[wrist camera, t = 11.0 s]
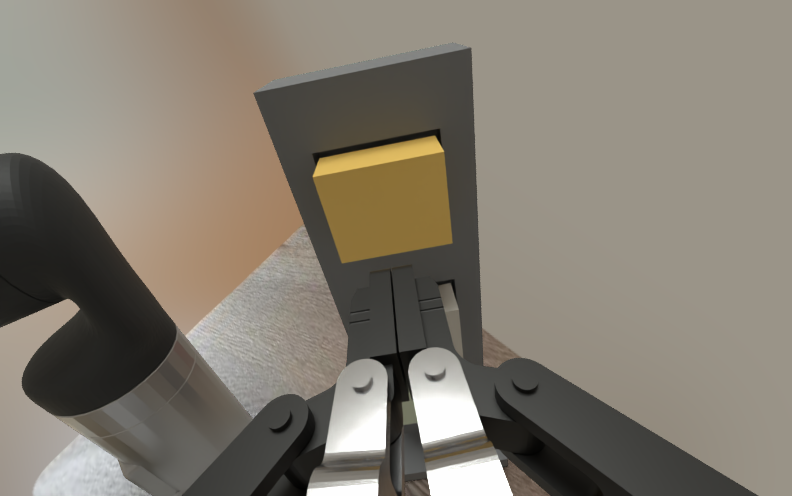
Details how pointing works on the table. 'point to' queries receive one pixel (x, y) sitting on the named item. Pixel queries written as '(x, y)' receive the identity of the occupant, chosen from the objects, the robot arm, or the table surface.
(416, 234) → the key top
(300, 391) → the table surface
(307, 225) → the keypad panel
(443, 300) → the key middle
